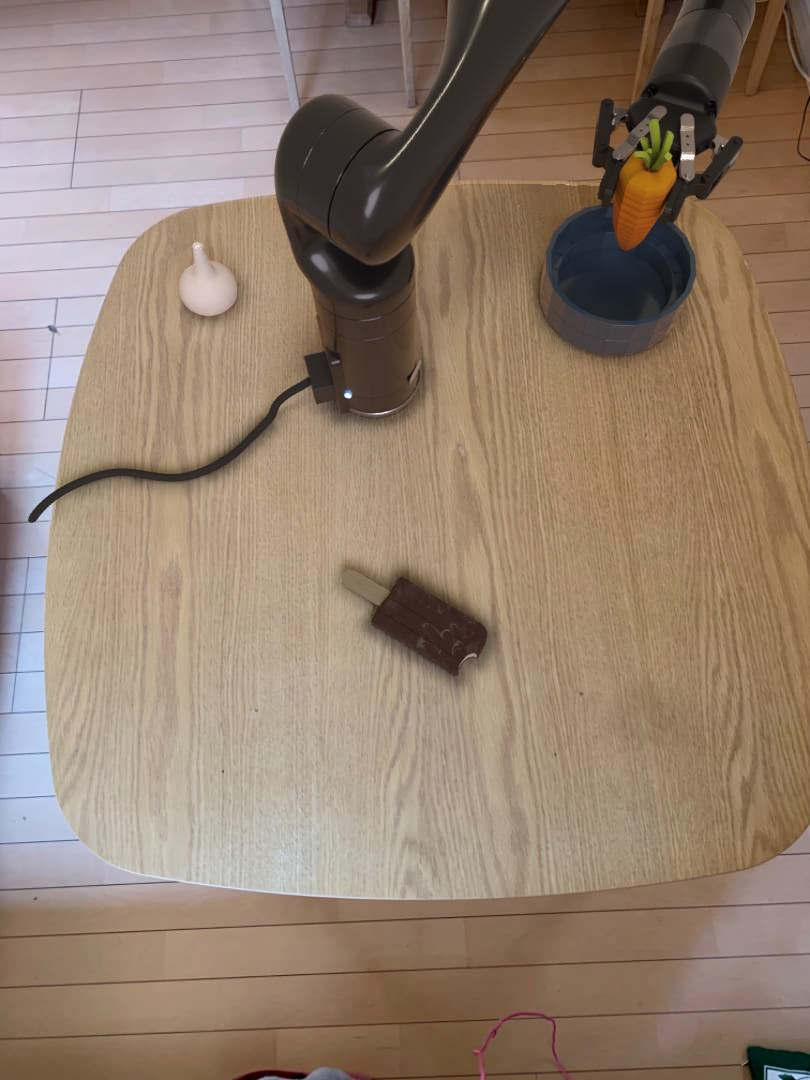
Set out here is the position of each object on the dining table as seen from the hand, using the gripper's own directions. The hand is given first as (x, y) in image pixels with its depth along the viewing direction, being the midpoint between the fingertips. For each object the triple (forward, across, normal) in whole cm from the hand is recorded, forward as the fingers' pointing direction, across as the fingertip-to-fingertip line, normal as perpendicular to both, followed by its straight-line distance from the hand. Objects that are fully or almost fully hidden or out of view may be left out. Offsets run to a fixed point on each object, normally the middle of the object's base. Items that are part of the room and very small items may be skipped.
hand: (635, 209), depth 76 cm
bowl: (-2, 0, +16) cm, 16 cm away
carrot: (-3, 0, +9) cm, 9 cm away
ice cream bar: (+39, -6, +16) cm, 43 cm away
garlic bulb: (+14, -40, +16) cm, 46 cm away
